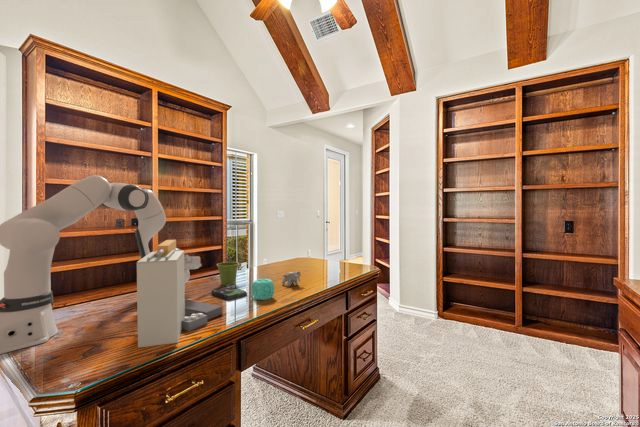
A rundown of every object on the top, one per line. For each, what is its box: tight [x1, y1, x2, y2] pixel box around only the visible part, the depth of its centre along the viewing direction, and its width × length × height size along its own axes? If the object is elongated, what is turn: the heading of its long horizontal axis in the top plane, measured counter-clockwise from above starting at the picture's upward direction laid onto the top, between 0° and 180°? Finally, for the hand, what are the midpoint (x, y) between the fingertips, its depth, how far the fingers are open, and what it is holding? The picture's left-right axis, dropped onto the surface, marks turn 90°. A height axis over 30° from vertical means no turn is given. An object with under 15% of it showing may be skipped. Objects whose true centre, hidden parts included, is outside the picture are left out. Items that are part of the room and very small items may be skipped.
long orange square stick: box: [156, 239, 177, 256], centre depth 110 cm, size 30×3×3 cm, turn 18°
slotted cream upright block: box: [136, 250, 186, 349], centre depth 106 cm, size 22×11×27 cm, turn 18°
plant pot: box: [216, 261, 240, 286], centre depth 171 cm, size 12×12×11 cm
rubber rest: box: [185, 299, 223, 321], centre depth 124 cm, size 8×20×3 cm, turn 63°
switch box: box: [182, 313, 208, 332], centre depth 111 cm, size 8×5×4 cm, turn 153°
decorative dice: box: [251, 278, 275, 301], centre depth 145 cm, size 8×8×8 cm
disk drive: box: [211, 285, 248, 301], centre depth 149 cm, size 10×3×15 cm
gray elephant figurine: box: [281, 271, 302, 288], centre depth 167 cm, size 9×12×8 cm
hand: (174, 257), depth 131 cm, fingers open, 8 cm apart
